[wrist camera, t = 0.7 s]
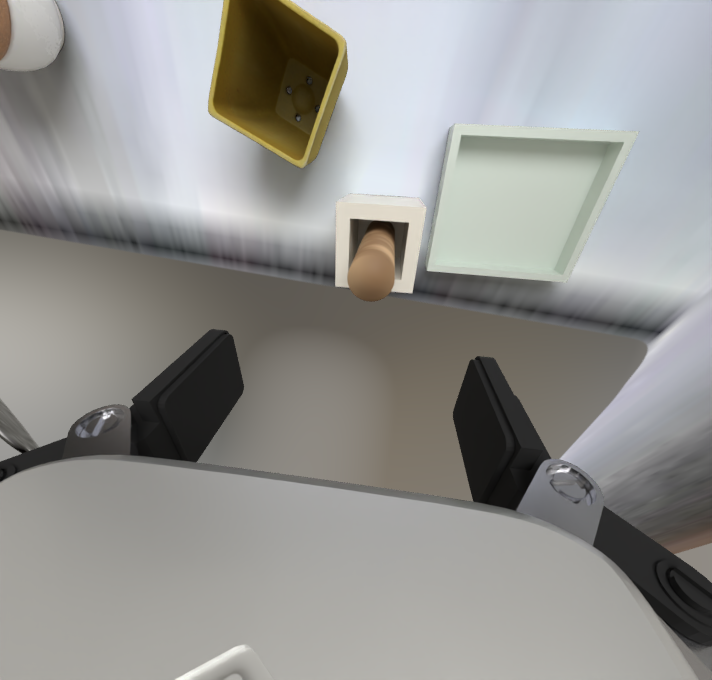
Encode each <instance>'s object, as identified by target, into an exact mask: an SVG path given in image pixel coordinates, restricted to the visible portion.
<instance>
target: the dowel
mask: <svg viewBox="0 0 712 680" xmlns="http://www.w3.org/2000/svg"><path fill="white" fill-rule="evenodd" d="M347 281H348V286H349V288H350V290H351V291H352V293H353V294H354V295H355V296H357V297H358V298H360V299H362V300H364V301H371V302H372V301H378V300H381V299H383V298H385V297H386V296H387V295H388V294H389V293H390V292H391V290H392V288H393V286H394V282H395V230H394V227H393V225H392V223H391V222H390V221H379V220H374V221H372V222H371V223H370V224H369V226H368V228H367V230H366V232H365V235H364V237H363V239H362V241H361V244H360V246H359V248H358V250H357V253H356V255H355V257H354V259H353V262H352V264H351V266H350V269H349V271H348V275H347Z"/></svg>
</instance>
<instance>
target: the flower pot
mask: <svg viewBox="0 0 712 680" xmlns="http://www.w3.org/2000/svg"><path fill="white" fill-rule="evenodd" d="M347 70H348V60H347V47H346V41H345V39H344V38H343V37H342V36H341V35H340V34H339V33H337V32H336V31H334V30H333V29H332V28H330V27H329V26H327V25H326V24H324V23H323V22H321V21H320V20H318V19H317V18H315V17H314V16H312V15H311V14H309V13H308V12H306V11H305V10H303V9H302V8H300V7H299V6H298V5H296V4H295V3H293V2H292V1H290V0H224V2H223V10H222V17H221V25H220V33H219V40H218V47H217V53H216V59H215V65H214V70H213V76H212V82H211V88H210V93H209V101H208V112H209V114H210V115H211V116H213V117H214V118H216V119H217V120H219V121H221V122H223V123H224V124H226V125H228V126H230V127H231V128H233V129H235V130H236V131H238V132H240V133H241V134H243V135H245V136H247V137H248V138H250V139H252V140H253V141H255V142H257V143H258V144H260V145H262V146H263V147H265V148H266V149H268V150H270V151H272V152H273V153H275V154H277V155H278V156H280V157H281V158H283V159H285V160H287V161H288V162H290V163H291V164H293V165H295V166H297V167H299V168H304V167H305V166H307V165H308V164H310V163H311V162H312V161H313V160H314V159H315V158H316V157H317V155H318V152H319V149H320V146H321V143H322V140H323V138H324V135H325V132H326V129H327V126H328V123H329V121H330V118H331V115H332V112H333V109H334V107H335V104H336V101H337V99H338V96H339V93H340V91H341V88H342V85H343V83H344V80H345V77H346V74H347ZM308 77H311V78H312V84H310V85H309V84H308V83H307V78H308ZM288 87H291V89H292V93H291V94H288V93H287V88H288ZM316 106H320V109H319V112H318V113H317V112H316V110H315V108H316ZM297 114H299V115H300V116H301V120H300V121H297V120H296V115H297Z"/></svg>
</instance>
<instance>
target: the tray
mask: <svg viewBox="0 0 712 680" xmlns="http://www.w3.org/2000/svg"><path fill="white" fill-rule="evenodd" d="M638 133H639V132H638V131H615V130H592V129H568V128H545V127H522V126H499V125H476V124H454V125H452V126H451V127H450V129H449V134H448V140H447V145H446V151H445V156H444V162H443V167H442V173H441V178H440V184H439V189H438V195H437V200H436V206H435V211H434V217H433V222H432V228H431V233H430V238H429V244H428V249H427V255H426V260H425V266H426V269H427V271H433V272H445V273H457V274H469V275H482V276H494V277H506V278H518V279H530V280H542V281H554V282H566V283H567V281H568V279H569V277H570V275H571V273H572V271H573V269H574V267H575V264H576V262H577V260H578V258H579V256H580V254H581V252H582V250H583V248H584V246H585V244H586V242H587V239H588V237H589V235H590V233H591V231H592V229H593V227H594V225H595V223H596V221H597V219H598V216H599V214H600V212H601V210H602V208H603V206H604V204H605V202H606V200H607V198H608V196H609V194H610V191H611V189H612V187H613V185H614V183H615V181H616V179H617V177H618V175H619V173H620V171H621V169H622V166H623V164H624V162H625V160H626V158H627V156H628V154H629V152H630V150H631V148H632V146H633V144H634V141H635V139H636V137H637V135H638Z"/></svg>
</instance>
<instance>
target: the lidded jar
mask: <svg viewBox="0 0 712 680" xmlns="http://www.w3.org/2000/svg"><path fill="white" fill-rule="evenodd" d="M64 38H65V31H64V24H63V19H62V16H61V13H60V10H59V8H58V5H57V3H56V1H55V0H0V69H2V70H9V71H35V70H38V69H41V68H45V67H46V66H48V65H49V64H51V63H52V62H53V61H54V60H55V59H56V57H57V55H58V53H59V51H60V50H61V49H62V47H63V44H64Z"/></svg>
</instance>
